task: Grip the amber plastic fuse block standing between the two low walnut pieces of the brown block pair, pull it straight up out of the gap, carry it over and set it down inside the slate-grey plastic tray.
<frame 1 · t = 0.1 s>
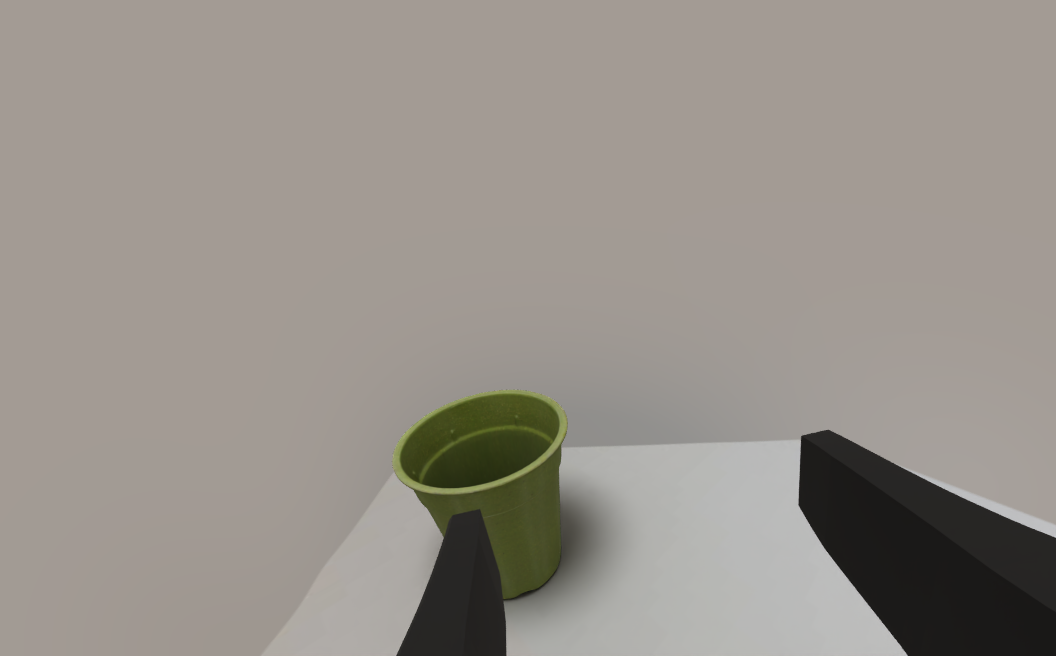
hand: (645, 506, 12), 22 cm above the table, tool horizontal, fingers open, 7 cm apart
plant pot: (516, 561, 40), on the table
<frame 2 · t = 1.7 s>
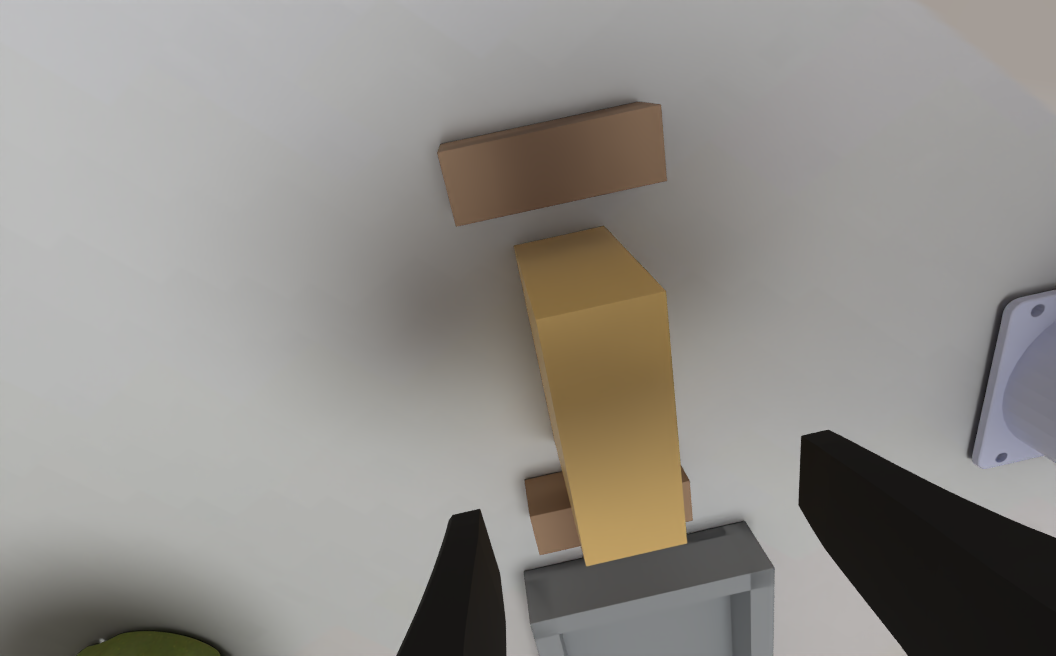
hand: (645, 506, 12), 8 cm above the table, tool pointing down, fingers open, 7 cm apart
tray: (650, 652, 27), on the table
fuse block: (576, 342, 19), on the table
brown block pair: (577, 343, 19), on the table
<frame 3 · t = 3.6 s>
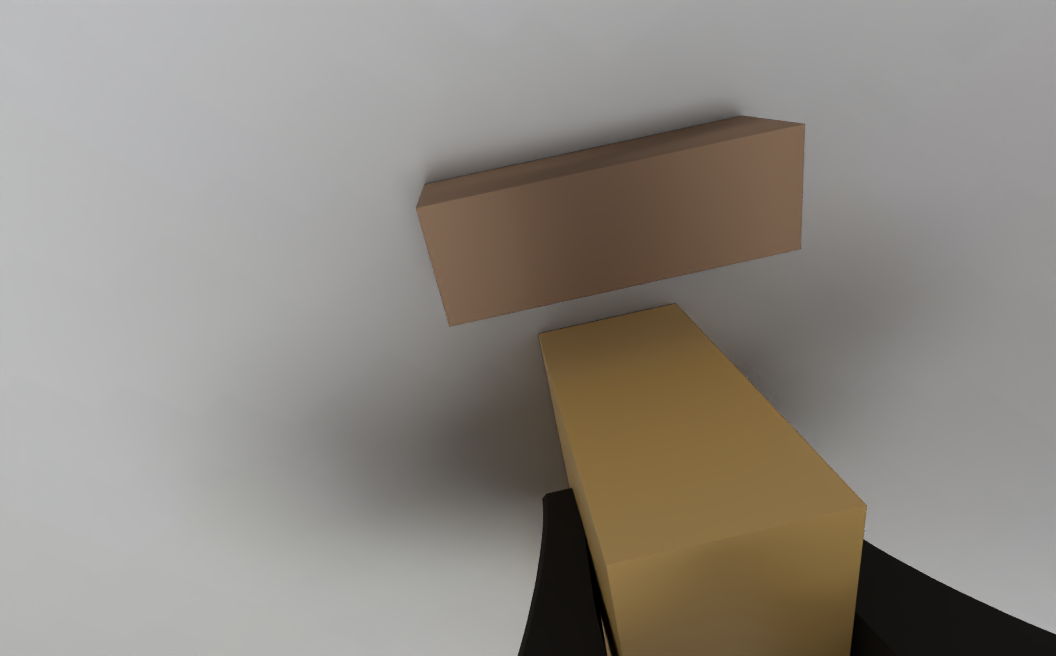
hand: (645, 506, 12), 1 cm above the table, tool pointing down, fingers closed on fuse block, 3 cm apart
fuse block: (627, 464, 13), on the table, touching gripper
brown block pair: (628, 465, 13), on the table
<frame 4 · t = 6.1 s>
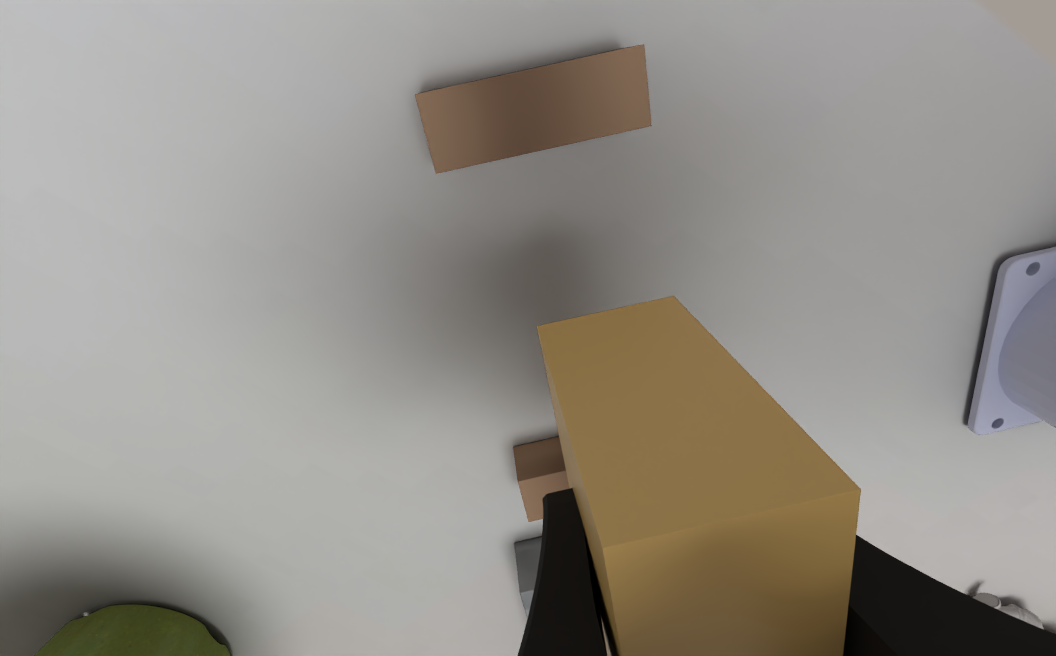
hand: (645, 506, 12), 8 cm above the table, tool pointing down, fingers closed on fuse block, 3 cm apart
tray: (644, 627, 27), on the table
soldier figure: (1013, 624, 31), on the table
fuse block: (625, 457, 13), point 7 cm above the table, touching gripper
plant pot: (146, 650, 24), on the table
brown block pair: (564, 304, 19), on the table
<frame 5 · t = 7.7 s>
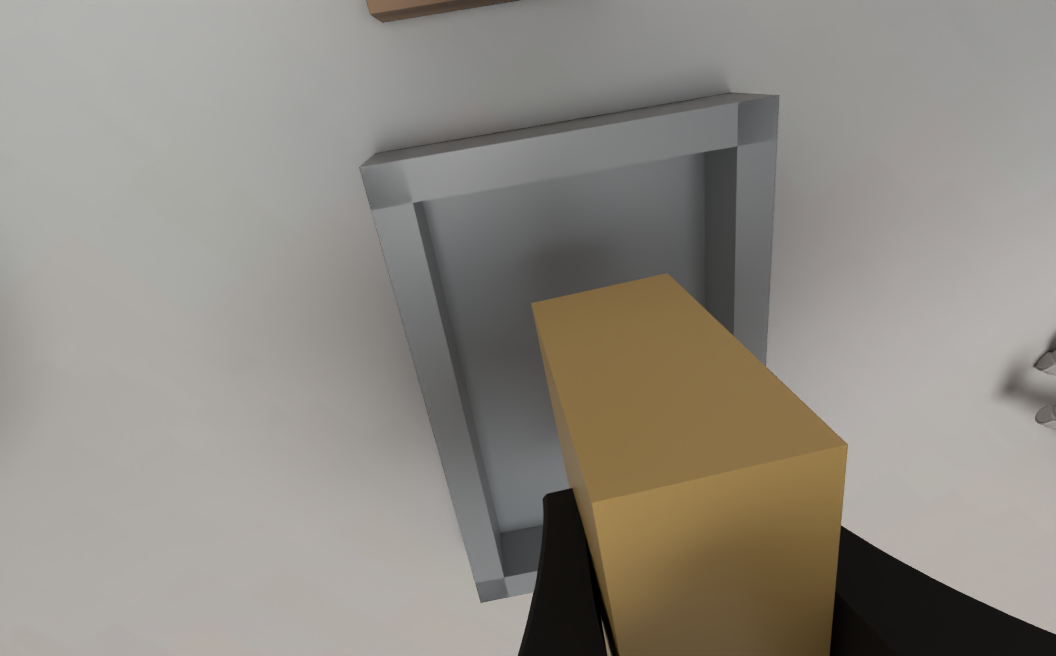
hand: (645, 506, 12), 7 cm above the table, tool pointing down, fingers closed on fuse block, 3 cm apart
tray: (583, 358, 18), on the table
fuse block: (620, 436, 13), point 5 cm above the table, touching gripper
when the fingers open (3 cm above the table, at t = 9.0 s): fuse block drops 1 cm, resting on tray.
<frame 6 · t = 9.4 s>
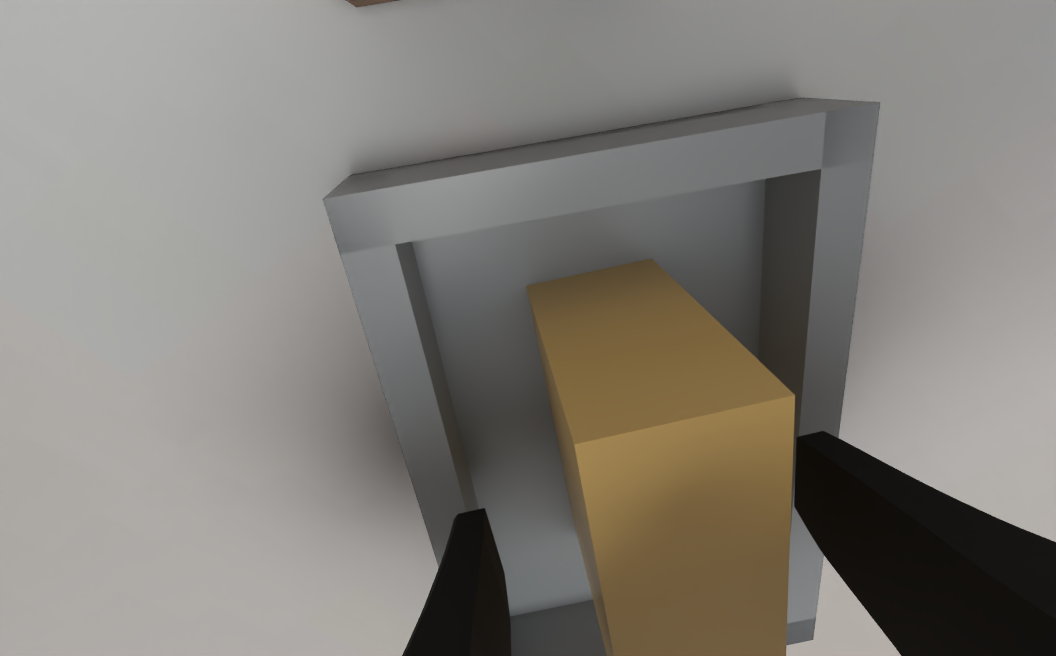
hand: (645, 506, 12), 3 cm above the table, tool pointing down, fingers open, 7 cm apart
tray: (608, 418, 15), on the table
fuse block: (609, 412, 14), resting on tray
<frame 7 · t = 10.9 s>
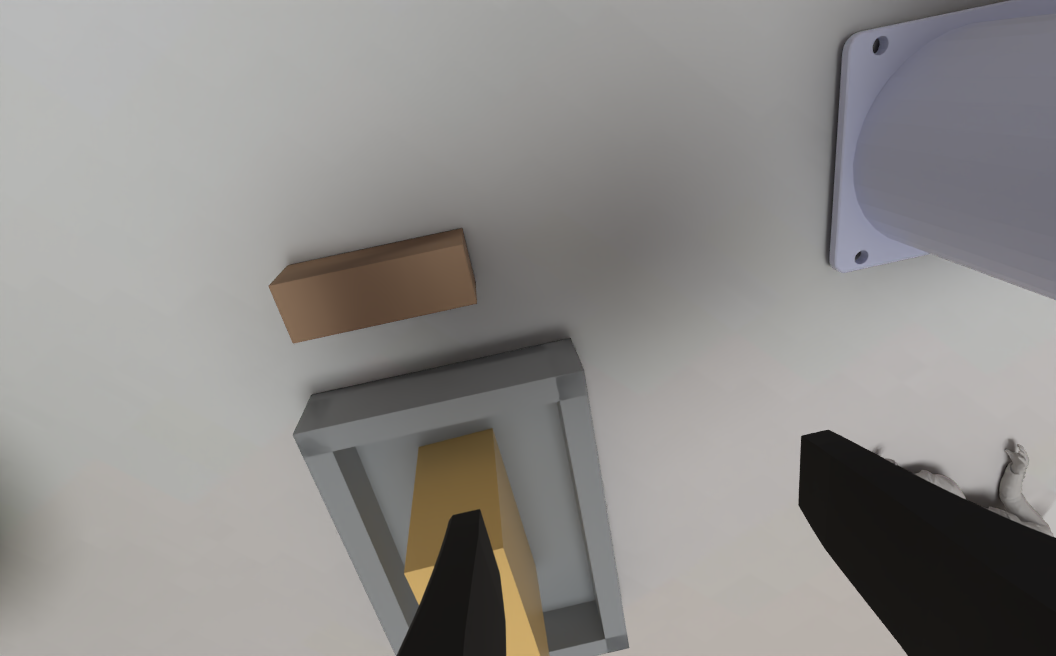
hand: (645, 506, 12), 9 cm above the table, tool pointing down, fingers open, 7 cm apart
tray: (484, 512, 24), on the table
soldier figure: (939, 497, 27), on the table
fuse block: (481, 511, 23), resting on tray
brown block pair: (318, 69, 16), on the table
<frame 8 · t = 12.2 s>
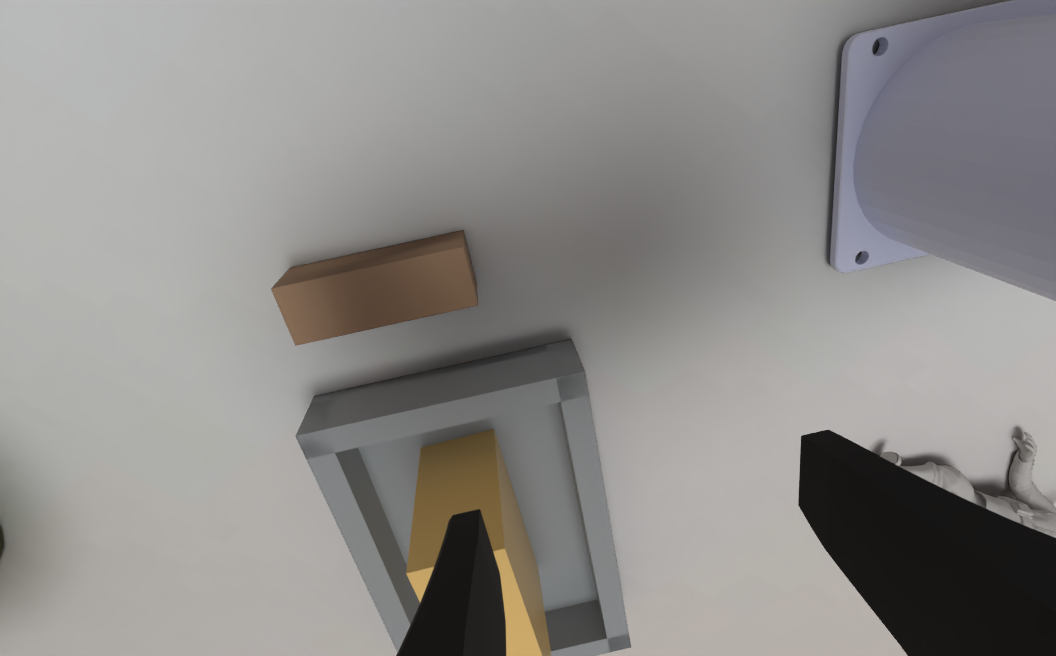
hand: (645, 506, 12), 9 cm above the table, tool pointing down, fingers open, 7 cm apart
tray: (486, 512, 24), on the table
soldier figure: (947, 488, 27), on the table
fuse block: (483, 511, 23), resting on tray
brown block pair: (319, 73, 16), on the table
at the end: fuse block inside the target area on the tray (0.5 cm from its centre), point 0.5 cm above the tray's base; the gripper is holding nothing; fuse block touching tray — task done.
